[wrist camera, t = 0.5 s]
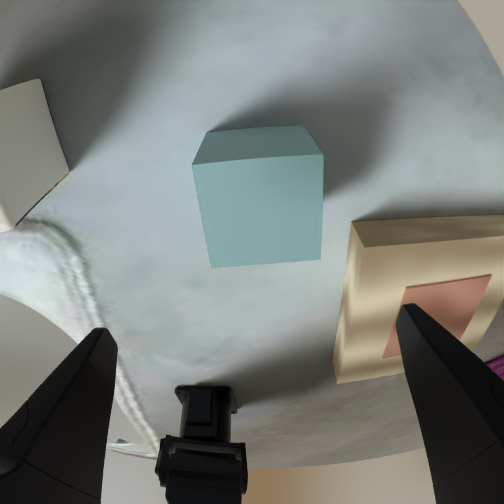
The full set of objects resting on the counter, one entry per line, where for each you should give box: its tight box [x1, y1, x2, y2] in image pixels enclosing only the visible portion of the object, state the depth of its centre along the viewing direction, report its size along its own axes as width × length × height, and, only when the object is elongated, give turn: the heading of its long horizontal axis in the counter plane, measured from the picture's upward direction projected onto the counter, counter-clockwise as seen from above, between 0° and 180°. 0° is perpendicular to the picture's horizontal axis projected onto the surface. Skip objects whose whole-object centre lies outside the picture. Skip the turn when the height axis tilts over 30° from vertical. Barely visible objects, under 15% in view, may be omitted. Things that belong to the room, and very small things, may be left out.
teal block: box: [192, 125, 324, 268], centre depth 17 cm, size 6×6×6 cm
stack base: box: [332, 215, 504, 384], centre depth 24 cm, size 16×16×3 cm
